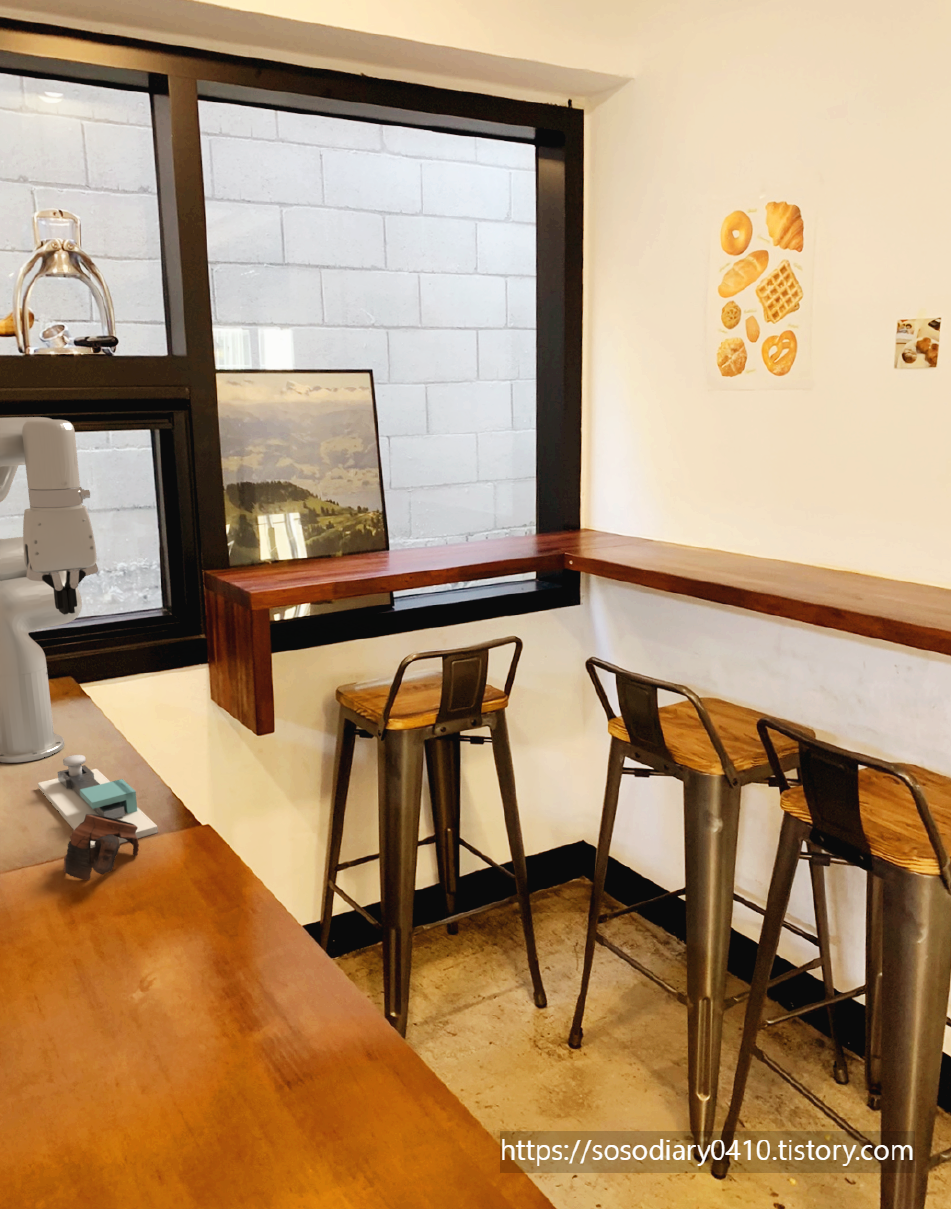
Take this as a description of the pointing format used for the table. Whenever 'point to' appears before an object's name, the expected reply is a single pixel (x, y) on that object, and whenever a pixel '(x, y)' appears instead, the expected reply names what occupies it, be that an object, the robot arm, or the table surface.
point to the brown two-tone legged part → (97, 845)
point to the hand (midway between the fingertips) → (66, 612)
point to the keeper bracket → (111, 795)
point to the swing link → (84, 782)
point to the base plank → (77, 808)
